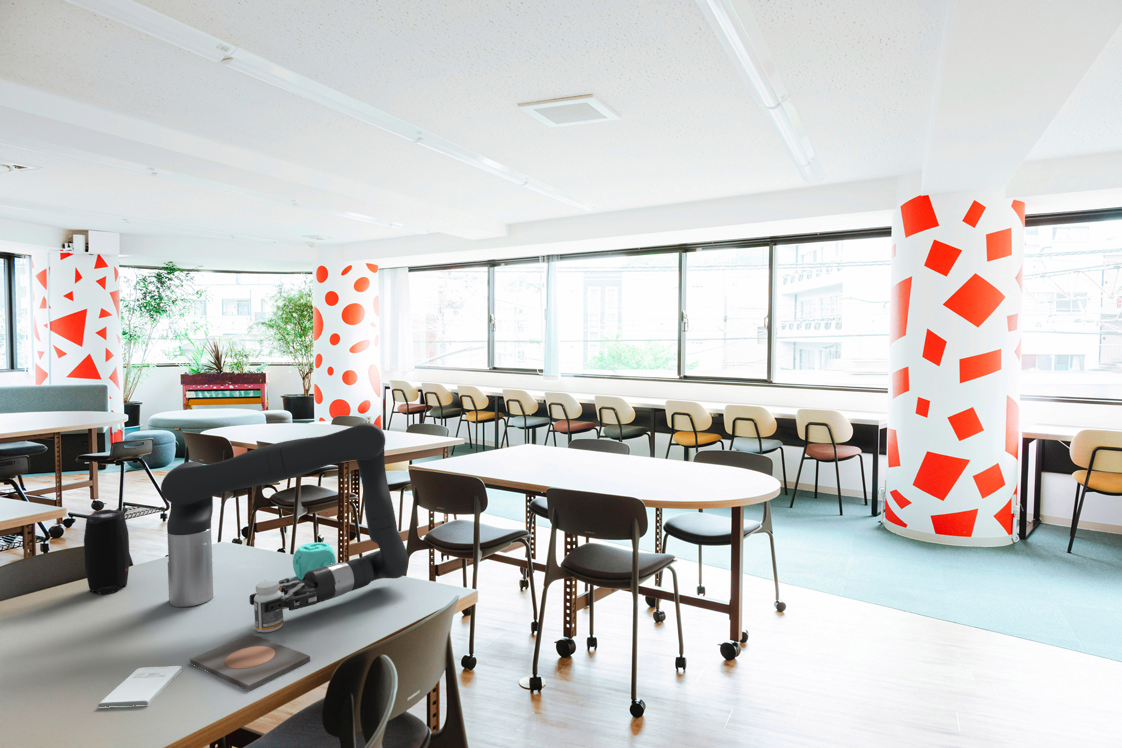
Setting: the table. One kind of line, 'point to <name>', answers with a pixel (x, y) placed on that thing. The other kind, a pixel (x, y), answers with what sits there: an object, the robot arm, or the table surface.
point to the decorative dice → (312, 558)
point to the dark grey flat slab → (250, 661)
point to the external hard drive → (141, 686)
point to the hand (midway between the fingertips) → (257, 604)
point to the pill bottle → (264, 593)
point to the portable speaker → (106, 551)
